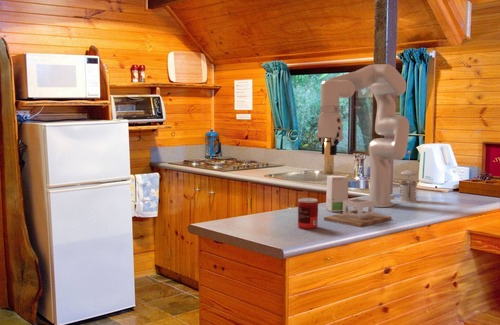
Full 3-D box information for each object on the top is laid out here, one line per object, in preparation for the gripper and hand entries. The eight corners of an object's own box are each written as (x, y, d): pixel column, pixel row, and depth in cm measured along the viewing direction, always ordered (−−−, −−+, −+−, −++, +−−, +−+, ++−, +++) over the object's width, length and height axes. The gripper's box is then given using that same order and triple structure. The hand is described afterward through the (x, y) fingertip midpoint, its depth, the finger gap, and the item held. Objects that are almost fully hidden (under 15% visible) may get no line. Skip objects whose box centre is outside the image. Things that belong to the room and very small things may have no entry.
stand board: (356, 213, 264) (356, 210, 264) (391, 219, 251) (391, 216, 251) (324, 219, 249) (324, 217, 248) (359, 226, 236) (359, 223, 235)
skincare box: (330, 212, 266) (331, 177, 264) (325, 209, 272) (325, 175, 271) (348, 211, 268) (349, 176, 266) (342, 208, 274) (343, 174, 273)
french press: (416, 199, 301) (418, 149, 299) (420, 203, 290) (422, 151, 287) (396, 199, 302) (397, 149, 299) (399, 203, 291) (401, 151, 288)
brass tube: (328, 172, 254) (328, 137, 253) (335, 173, 251) (336, 138, 250) (321, 173, 252) (322, 137, 250) (329, 174, 248) (329, 138, 247)
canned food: (315, 225, 238) (316, 197, 237) (318, 229, 230) (319, 201, 229) (296, 225, 238) (297, 197, 237) (299, 229, 230) (299, 201, 229)
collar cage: (355, 213, 256) (356, 198, 255) (373, 217, 249) (373, 200, 249) (342, 216, 250) (342, 200, 249) (360, 219, 243) (360, 203, 242)
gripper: (351, 110, 245) (350, 155, 247) (320, 109, 257) (319, 152, 259) (339, 110, 240) (339, 156, 242) (308, 110, 252) (308, 153, 254)
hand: (329, 154), depth 250 cm, fingers closed on brass tube, 4 cm apart
